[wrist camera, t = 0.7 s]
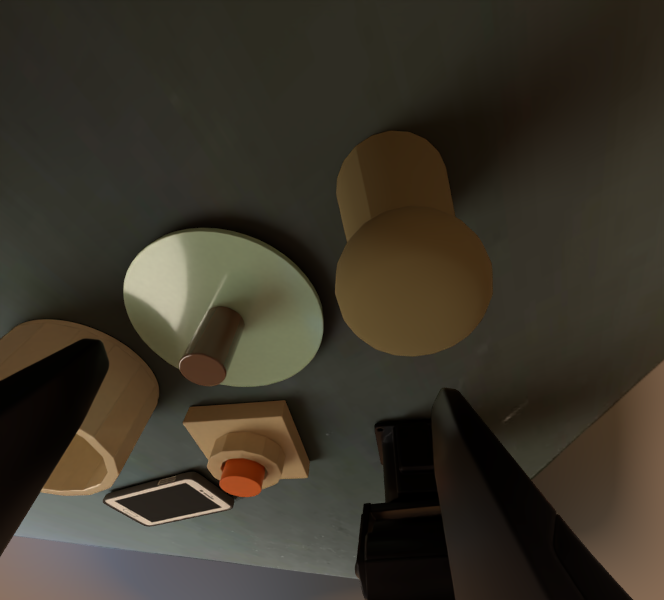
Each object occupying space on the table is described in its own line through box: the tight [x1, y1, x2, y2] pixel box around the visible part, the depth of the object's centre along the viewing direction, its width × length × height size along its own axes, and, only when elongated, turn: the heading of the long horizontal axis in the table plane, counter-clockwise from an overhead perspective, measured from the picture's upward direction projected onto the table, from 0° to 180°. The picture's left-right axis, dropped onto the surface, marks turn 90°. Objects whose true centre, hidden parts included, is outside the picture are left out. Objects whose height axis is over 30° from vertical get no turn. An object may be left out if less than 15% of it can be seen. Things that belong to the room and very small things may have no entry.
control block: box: [183, 400, 310, 489], centre depth 33 cm, size 10×9×4 cm
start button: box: [220, 458, 265, 497], centre depth 32 cm, size 4×4×2 cm
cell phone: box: [103, 472, 234, 526], centre depth 43 cm, size 8×15×1 cm, turn 118°
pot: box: [0, 319, 159, 496], centre depth 28 cm, size 13×13×7 cm
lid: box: [123, 228, 324, 387], centre depth 23 cm, size 14×14×6 cm
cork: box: [335, 131, 493, 356], centre depth 15 cm, size 6×6×11 cm
